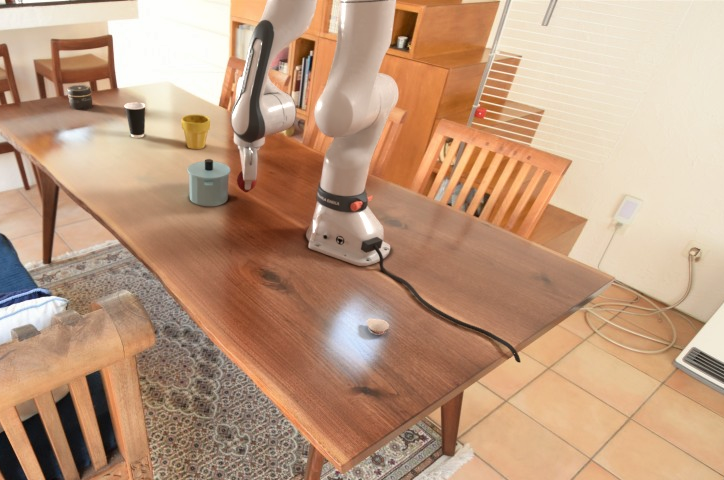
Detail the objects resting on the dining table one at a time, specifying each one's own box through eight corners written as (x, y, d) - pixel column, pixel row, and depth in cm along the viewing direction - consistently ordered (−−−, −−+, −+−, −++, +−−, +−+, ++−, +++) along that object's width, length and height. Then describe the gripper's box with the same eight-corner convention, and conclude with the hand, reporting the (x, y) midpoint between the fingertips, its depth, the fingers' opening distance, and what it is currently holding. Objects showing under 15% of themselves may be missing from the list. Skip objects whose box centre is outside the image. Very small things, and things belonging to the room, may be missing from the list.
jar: (86, 102, 220) (83, 83, 215) (97, 107, 215) (94, 88, 210) (66, 105, 216) (62, 86, 210) (76, 111, 210) (73, 92, 205)
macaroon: (377, 340, 100) (380, 330, 98) (358, 327, 103) (361, 318, 101) (390, 332, 102) (394, 323, 100) (372, 320, 105) (375, 310, 103)
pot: (227, 186, 155) (227, 160, 150) (228, 210, 142) (229, 183, 137) (190, 186, 155) (189, 159, 149) (188, 210, 142) (188, 182, 136)
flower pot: (214, 149, 180) (214, 121, 173) (187, 152, 177) (186, 124, 170) (204, 140, 187) (204, 113, 180) (178, 143, 184) (177, 115, 177)
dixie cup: (151, 136, 188) (149, 106, 181) (133, 140, 185) (130, 109, 177) (141, 130, 193) (139, 101, 186) (123, 134, 189) (120, 104, 182)
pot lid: (229, 164, 148) (229, 152, 146) (230, 181, 139) (231, 169, 136) (188, 164, 148) (187, 152, 146) (186, 181, 138) (186, 168, 136)
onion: (254, 197, 145) (255, 171, 140) (234, 195, 146) (236, 169, 141) (256, 189, 149) (258, 163, 144) (238, 187, 150) (239, 161, 145)
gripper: (264, 149, 129) (260, 199, 138) (258, 124, 144) (254, 170, 153) (240, 149, 129) (237, 198, 138) (236, 124, 144) (234, 170, 153)
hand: (246, 183), depth 146 cm, fingers closed on onion, 6 cm apart
